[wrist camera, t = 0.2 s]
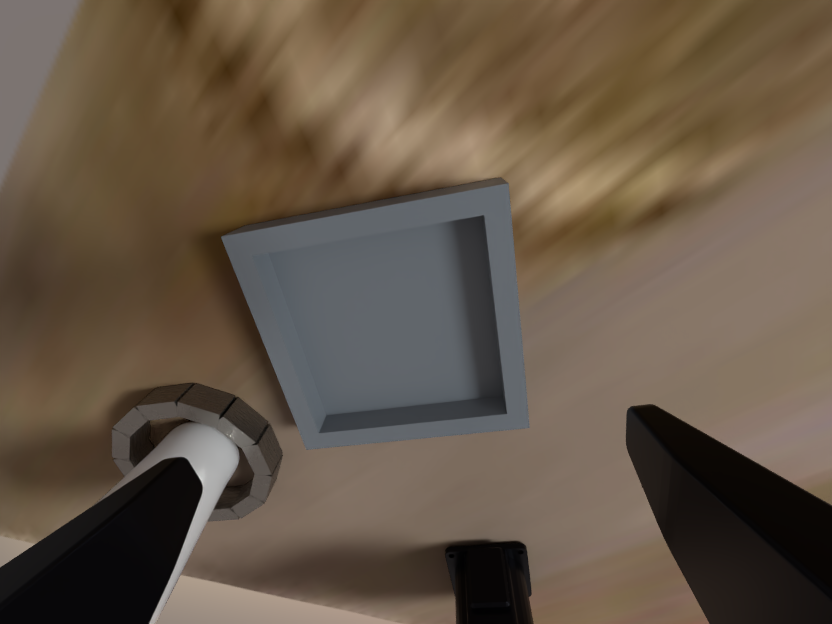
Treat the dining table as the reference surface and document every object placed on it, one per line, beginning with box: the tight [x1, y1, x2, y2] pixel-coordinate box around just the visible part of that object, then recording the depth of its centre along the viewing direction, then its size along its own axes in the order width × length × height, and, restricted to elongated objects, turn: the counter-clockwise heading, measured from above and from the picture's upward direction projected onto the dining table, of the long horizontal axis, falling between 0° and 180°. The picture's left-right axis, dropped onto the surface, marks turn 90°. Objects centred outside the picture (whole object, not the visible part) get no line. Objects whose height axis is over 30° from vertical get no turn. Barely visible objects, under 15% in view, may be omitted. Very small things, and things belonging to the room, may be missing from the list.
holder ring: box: [112, 383, 283, 522], centre depth 28 cm, size 11×11×2 cm
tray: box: [221, 177, 530, 450], centre depth 22 cm, size 14×14×2 cm
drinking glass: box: [93, 422, 240, 624], centre depth 22 cm, size 7×7×15 cm
